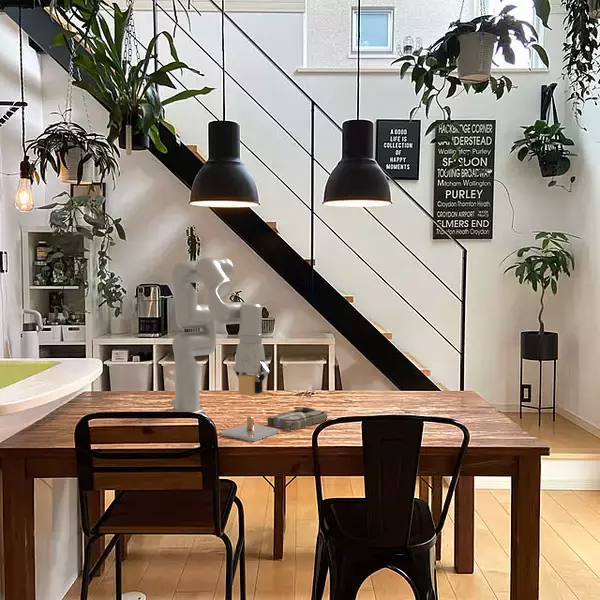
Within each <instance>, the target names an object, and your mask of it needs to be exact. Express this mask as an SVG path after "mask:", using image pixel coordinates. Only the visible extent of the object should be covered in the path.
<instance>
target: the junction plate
mask: <svg viewBox="0 0 600 600" xmlns="http://www.w3.org/2000/svg"><path fill="white" fill-rule="evenodd" d="M279 430H280V429H279V428H276V427H272V426H271V427H270V426H265V425H259V424H255V417H254V416H253V415H252V416H246V423H245V424H241V425H238V426H235V427H230V428H228V429H224V430H221V436H222V435H224V437H227V436H229V437H228V438H232V437H235V438H234V439H237V438H240V439H239V440H242V439H246V440H245V441H247V440H250V441H249V442H251V441H255V442H257V441H260V440H263V439H266V438H268V437H267V436H269V437H271V436H270V435H272V436H274V435H273V434H275V435H277V434H276V433H278V434H279V433H280V431H279ZM265 437H266V438H265ZM262 438H263V439H262ZM259 439H260V440H259ZM256 440H257V441H256Z"/></svg>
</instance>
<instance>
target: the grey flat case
mask: <svg viewBox="0 0 600 600" xmlns="http://www.w3.org/2000/svg"><path fill="white" fill-rule="evenodd" d="M325 420H327V421H328V413H327V412H326V411H325V410H324V411H321V409H316V408H312V407H306V406H305V407H304V406H299V407H296V408H295V409H294V410H290V411H287V412H283V413H279V414H276V415H272V416H270V417H267V426H270V425H274V426H273V427H276V426H279V427H278V428H282V427H283V428H282V429H283V430H284V429H287V430H286V431H288V430H294V431H296V430H295V429H298V430H300V429H299V428H301V429H304V428H307V427H306V426H308V427H311V426H313V425H316V423H317V424H320V423H324V422H326V421H325ZM323 421H324V422H323ZM312 424H313V425H312ZM310 425H311V426H310ZM303 427H304V428H303Z"/></svg>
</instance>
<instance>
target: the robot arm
mask: <svg viewBox="0 0 600 600" xmlns="http://www.w3.org/2000/svg"><path fill="white" fill-rule="evenodd" d="M234 269H235V268H234V265H233V262H232V261H231V260H230V259H229V258H227V257H219V256H218V257H217V256H215V257H210V256H209V257H207V256H206V257H203V258H200V259H199V260H184V261H183V260H181V261H178V262H177V263H175V264H174V265H173V267H172V269H171V275H170V276H171V277H170V279H171V284H172V288H173V291H174V301H175V302H174V304H175V305H174V306H175V307H174V309H175V311H174V312H175V323H176V326H177V327H178V328H179V329H183V330H189V329H190V330H192V329H193V330H194V329H199V330H200V331H188V332H187V331H186V332H181V333H178V334H176V335H175V336H174V337H173V339H172V343H171V345H172V346H171V347H172V353H173V356H174V374H175V375H174V378H175V379H174V381H175V382H174V384H175V385H174V386H175V387H174V389H175V390H174V393H175V394H174V396H175V397H174V398H173V399H171V400H170V401H169V405H171V406H173V407H172V408H171V411H190V412H200V413H199V414H202V413H203V412H204V407H202V406H200V403H201V402H200V397H201V396H200V393H201V392H200V366H199V363H198V362H197V360H196V358H195V357H197V356H208V355H212V354H213V353H214V352H215V350H216V347H217V327H216V325H217V323H219V324H221V325H236V324H237V325H239V335H238V336H237V338H238V340H239V342H238V343H237V346H236V352H235V361H234V362H235V364H234V366H233V367H232V370H233V372H234V373H235V375H236V376H237V378H238V380H239V375H243V374H247V373H250V374H254V375H255V378H256V381H257V382H255V393H256V394H257V393H261V392H262V381H263V382H264V381H265V379H266V378H267V376H268V375H269V374H270V370H269V368H268V367H267V366H266V355H265V348H264V344H263V342H262V340H263V338H262V337H263V334H262V333H263V332H262V331H263V329H262V327H263V325H262V323H263V322H262V315H263V314H262V311H263V309H262V305H260V304H259V303H250V302H248V301H246V302H245V301H242V302H241V301H240V302H239V301H238V302H236V301H235V302H234V301H233V302H224V301H223V300H222V299H221V298H223V297H224V296H226V295H228V294H229V292H230V290H231V288H232V282H231V279H232V277H233V275H234V271H235V270H234ZM192 283H195V284H197V283H198V284H200V283H203V285H204V286H205V288H206V289H207V290H208V295H207V304H203V303H202V304H201V303H200V304H198V295H197V291H196V289H195V287H194V286H193V285H192ZM216 322H217V323H216ZM258 374H259V375H258Z"/></svg>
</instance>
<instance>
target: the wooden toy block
mask: <svg viewBox="0 0 600 600" xmlns="http://www.w3.org/2000/svg"><path fill="white" fill-rule="evenodd" d="M258 375H259V374H258ZM255 382H257V381H256V378H255V375H254V374H250V373H247V374H243V375H239V379H238V395H243V396H250V397H251V396H252V397H253V396H259V395H262V394H264V380H263V381H262V392H261V393H257V394H256V393H255Z"/></svg>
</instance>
